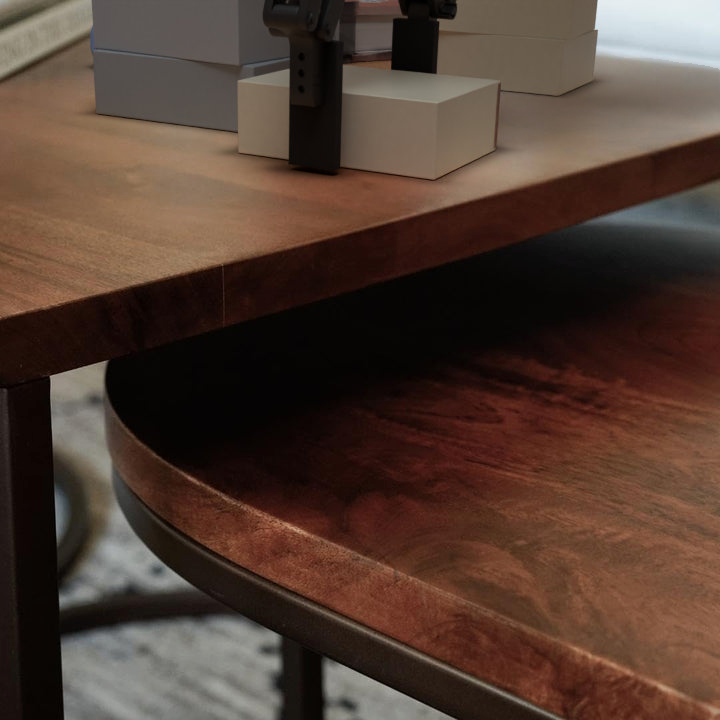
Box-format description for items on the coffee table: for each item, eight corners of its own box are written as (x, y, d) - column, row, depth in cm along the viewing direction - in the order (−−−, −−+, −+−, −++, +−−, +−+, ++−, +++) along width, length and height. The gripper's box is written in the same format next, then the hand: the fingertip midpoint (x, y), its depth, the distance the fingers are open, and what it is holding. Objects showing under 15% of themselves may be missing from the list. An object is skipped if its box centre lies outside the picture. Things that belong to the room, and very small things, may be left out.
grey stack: (326, 112, 78) (328, -14, 75) (251, 135, 70) (249, -4, 67) (174, 94, 83) (170, -24, 80) (87, 114, 75) (79, -17, 72)
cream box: (496, 149, 68) (501, 80, 66) (434, 180, 60) (438, 102, 59) (316, 127, 73) (317, 62, 71) (237, 153, 65) (236, 80, 64)
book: (207, 70, 93) (205, 6, 92) (130, 44, 107) (127, -13, 105) (472, 56, 106) (476, -2, 104) (373, 34, 120) (374, -17, 118)
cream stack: (597, 81, 94) (607, -24, 91) (560, 97, 86) (570, -17, 83) (456, 67, 99) (461, -32, 96) (409, 81, 91) (413, -26, 88)
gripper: (412, -257, 70) (396, 109, 78) (180, -322, 50) (192, 178, 58) (531, -259, 67) (501, 121, 75) (335, -329, 47) (324, 199, 55)
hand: (366, 146), depth 67 cm, fingers open, 11 cm apart
